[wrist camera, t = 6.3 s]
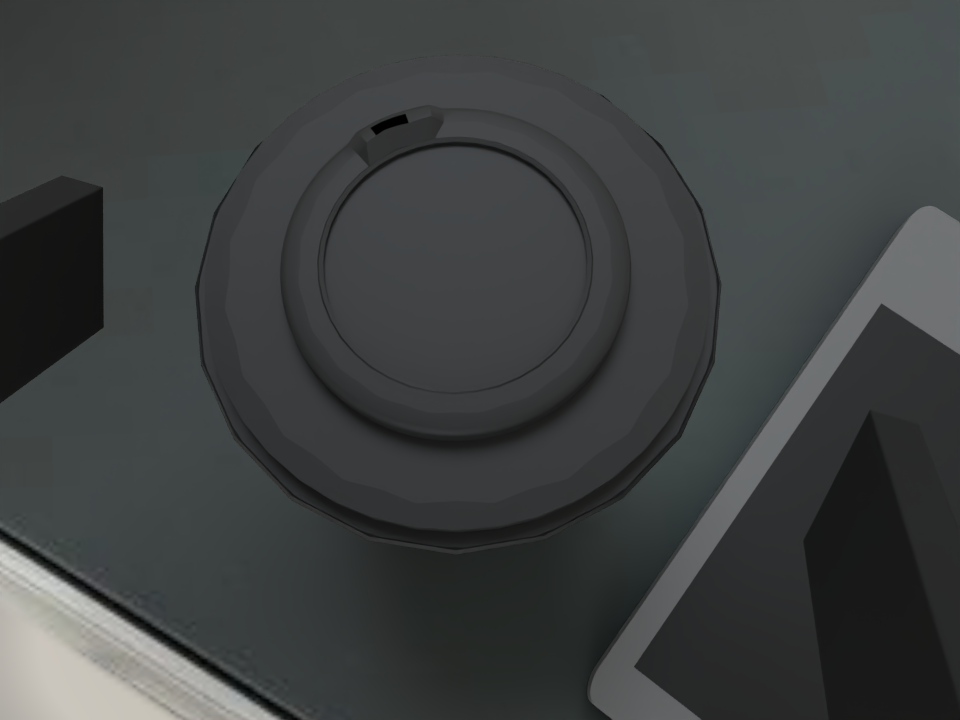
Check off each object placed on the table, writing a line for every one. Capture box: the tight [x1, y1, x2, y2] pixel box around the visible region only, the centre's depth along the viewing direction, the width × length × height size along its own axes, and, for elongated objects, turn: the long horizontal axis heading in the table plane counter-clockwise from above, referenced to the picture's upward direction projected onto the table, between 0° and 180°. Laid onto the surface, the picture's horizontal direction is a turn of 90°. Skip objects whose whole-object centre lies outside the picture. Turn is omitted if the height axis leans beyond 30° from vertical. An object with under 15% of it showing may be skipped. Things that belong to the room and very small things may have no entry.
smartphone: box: [587, 206, 960, 720], centre depth 21 cm, size 15×8×1 cm, turn 143°
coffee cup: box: [195, 55, 721, 554], centre depth 18 cm, size 8×8×10 cm
